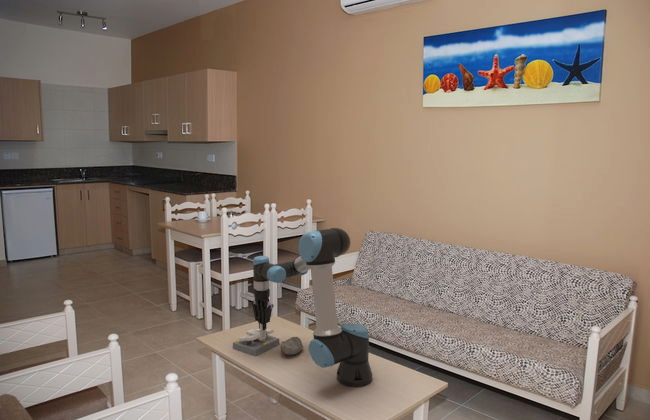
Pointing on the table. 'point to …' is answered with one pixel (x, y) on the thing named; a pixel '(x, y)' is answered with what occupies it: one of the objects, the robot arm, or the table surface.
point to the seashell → (291, 346)
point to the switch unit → (256, 345)
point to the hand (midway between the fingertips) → (262, 335)
